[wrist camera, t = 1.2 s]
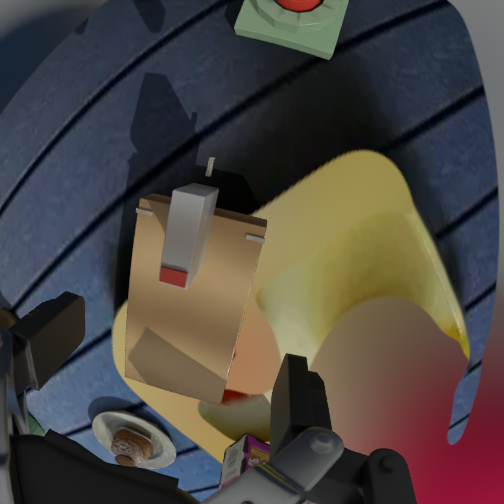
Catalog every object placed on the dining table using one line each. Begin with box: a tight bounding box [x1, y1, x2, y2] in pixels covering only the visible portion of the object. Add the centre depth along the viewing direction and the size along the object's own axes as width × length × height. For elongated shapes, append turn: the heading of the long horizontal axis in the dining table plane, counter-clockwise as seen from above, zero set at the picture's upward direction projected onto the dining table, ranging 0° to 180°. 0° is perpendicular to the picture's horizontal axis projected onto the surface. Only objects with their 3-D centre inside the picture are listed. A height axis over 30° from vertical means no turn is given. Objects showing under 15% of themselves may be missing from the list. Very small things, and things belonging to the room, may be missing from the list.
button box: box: [234, 0, 349, 60], centre depth 20 cm, size 8×8×4 cm
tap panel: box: [125, 157, 267, 405], centre depth 27 cm, size 22×10×3 cm, turn 167°
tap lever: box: [158, 183, 219, 289], centre depth 22 cm, size 6×2×5 cm, turn 167°
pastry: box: [92, 410, 176, 469], centre depth 34 cm, size 12×12×5 cm
